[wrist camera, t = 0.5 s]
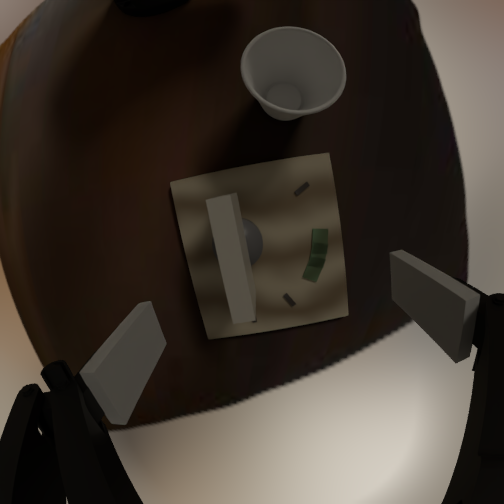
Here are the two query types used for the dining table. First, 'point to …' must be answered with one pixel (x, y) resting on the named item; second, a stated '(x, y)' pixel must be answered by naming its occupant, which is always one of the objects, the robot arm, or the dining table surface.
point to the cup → (292, 72)
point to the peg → (235, 254)
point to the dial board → (270, 243)
